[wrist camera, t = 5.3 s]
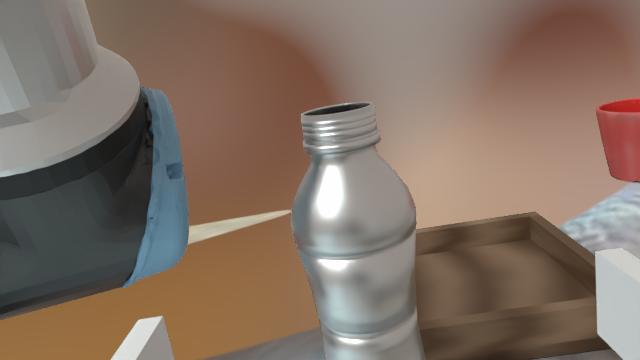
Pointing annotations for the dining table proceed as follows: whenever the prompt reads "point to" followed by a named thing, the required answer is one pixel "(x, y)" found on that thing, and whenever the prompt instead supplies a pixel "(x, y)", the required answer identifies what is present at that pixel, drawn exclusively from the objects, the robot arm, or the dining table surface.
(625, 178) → the flower pot
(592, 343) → the walnut tray
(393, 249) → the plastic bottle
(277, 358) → the dining table surface
